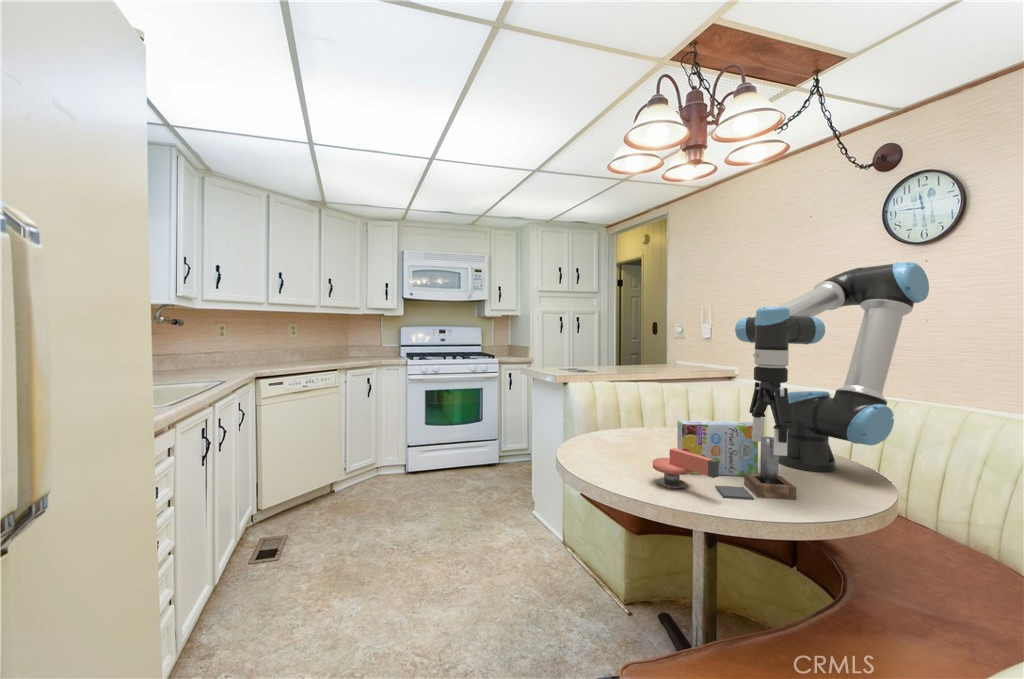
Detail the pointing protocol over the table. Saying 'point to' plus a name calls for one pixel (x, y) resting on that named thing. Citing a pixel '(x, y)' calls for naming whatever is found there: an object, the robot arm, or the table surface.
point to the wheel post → (671, 481)
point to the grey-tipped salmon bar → (686, 464)
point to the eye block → (770, 487)
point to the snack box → (721, 444)
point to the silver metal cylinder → (768, 462)
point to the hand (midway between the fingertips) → (768, 447)
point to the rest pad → (734, 492)
